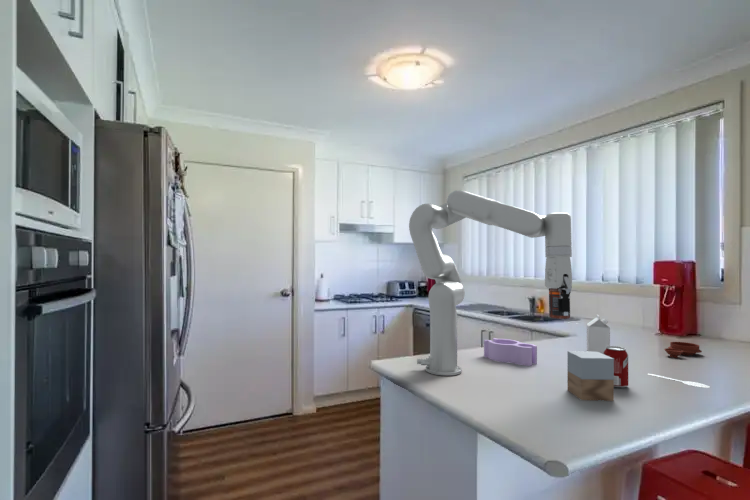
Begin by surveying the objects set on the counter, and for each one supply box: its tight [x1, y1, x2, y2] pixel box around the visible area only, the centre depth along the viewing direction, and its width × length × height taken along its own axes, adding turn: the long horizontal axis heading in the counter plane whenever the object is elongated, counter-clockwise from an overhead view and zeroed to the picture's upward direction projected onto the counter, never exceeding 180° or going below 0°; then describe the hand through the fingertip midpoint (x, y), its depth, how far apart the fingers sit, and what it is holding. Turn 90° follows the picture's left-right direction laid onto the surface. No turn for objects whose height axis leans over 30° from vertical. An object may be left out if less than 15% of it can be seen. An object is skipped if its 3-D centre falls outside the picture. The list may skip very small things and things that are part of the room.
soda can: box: [604, 345, 629, 389], centre depth 130 cm, size 7×7×12 cm
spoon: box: [647, 373, 711, 389], centre depth 136 cm, size 5×18×1 cm, turn 31°
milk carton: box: [586, 314, 611, 354], centre depth 156 cm, size 7×7×19 cm
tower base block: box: [567, 370, 615, 402], centre depth 120 cm, size 9×9×6 cm
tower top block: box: [567, 350, 614, 380], centre depth 121 cm, size 9×9×6 cm
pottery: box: [664, 341, 703, 359], centre depth 175 cm, size 12×20×4 cm, turn 123°
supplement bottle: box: [548, 287, 571, 320], centre depth 127 cm, size 6×6×11 cm
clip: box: [483, 337, 538, 367], centre depth 163 cm, size 20×12×7 cm, turn 41°
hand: (559, 309), depth 127 cm, fingers closed on supplement bottle, 6 cm apart
